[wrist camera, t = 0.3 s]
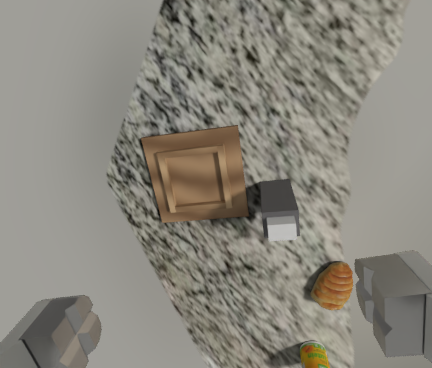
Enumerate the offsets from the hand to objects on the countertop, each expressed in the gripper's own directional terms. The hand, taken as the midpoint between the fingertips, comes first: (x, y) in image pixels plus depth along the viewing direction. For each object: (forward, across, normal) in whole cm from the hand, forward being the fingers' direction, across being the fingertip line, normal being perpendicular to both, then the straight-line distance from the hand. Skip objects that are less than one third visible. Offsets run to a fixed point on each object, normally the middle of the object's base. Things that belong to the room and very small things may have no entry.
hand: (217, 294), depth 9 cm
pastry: (+40, -12, +34) cm, 54 cm away
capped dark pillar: (+39, -5, +14) cm, 42 cm away
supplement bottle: (+40, -7, +52) cm, 66 cm away
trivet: (+40, +8, +9) cm, 41 cm away
